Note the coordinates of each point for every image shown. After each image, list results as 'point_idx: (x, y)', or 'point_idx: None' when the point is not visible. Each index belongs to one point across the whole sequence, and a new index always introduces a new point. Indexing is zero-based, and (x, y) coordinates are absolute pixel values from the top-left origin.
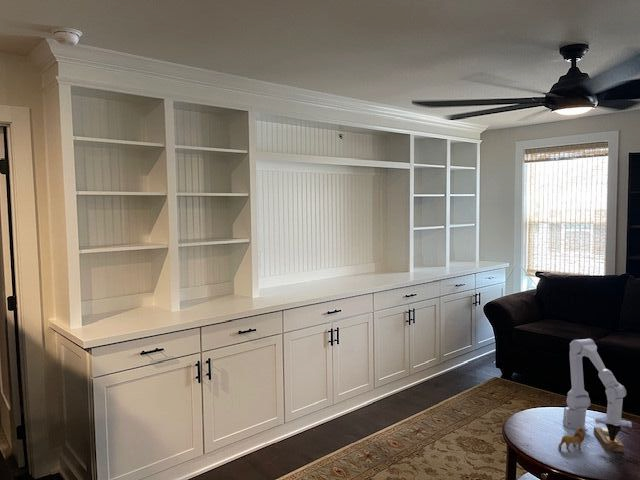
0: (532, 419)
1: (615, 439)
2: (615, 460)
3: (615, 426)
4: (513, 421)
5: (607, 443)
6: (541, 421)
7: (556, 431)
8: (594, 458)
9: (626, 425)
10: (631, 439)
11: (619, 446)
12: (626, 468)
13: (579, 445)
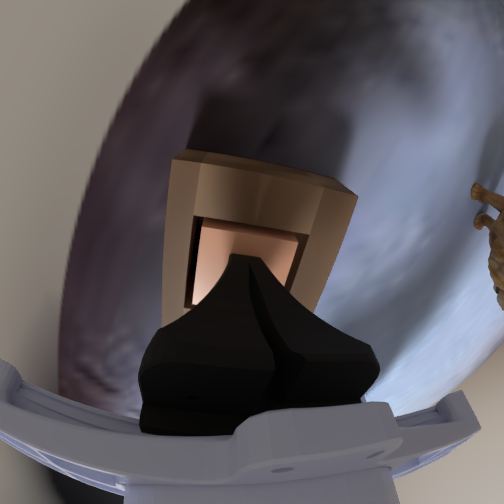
0: (425, 396)
1: (202, 278)
2: (347, 19)
3: (246, 401)
4: (477, 366)
5: (340, 195)
6: (411, 396)
7: (430, 350)
8: (462, 80)
9: (42, 398)
10: (71, 325)
11: (220, 162)
12: None
13: (500, 195)
